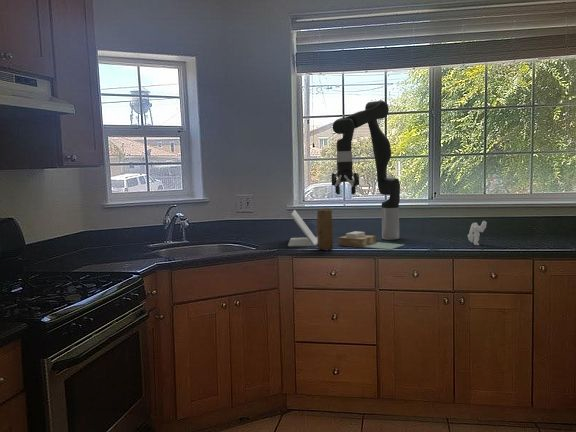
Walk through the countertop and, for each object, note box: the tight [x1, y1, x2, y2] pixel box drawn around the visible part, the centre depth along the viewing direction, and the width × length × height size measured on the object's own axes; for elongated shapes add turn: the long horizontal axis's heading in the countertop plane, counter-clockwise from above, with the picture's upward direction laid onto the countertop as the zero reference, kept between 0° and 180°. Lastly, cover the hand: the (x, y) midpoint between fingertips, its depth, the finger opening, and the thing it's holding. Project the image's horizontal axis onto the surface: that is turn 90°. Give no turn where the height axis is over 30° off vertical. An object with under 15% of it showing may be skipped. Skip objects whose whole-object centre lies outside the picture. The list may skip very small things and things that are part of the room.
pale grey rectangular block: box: [345, 231, 366, 238], centre depth 271 cm, size 9×6×2 cm, turn 141°
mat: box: [362, 241, 405, 251], centre depth 263 cm, size 15×16×1 cm
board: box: [337, 234, 377, 248], centre depth 271 cm, size 14×14×4 cm
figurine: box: [467, 220, 488, 246], centre depth 260 cm, size 10×5×12 cm, turn 33°
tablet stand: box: [287, 209, 318, 247], centre depth 283 cm, size 18×25×17 cm
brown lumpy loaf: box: [316, 208, 334, 251], centre depth 260 cm, size 11×8×20 cm
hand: (345, 194), depth 253 cm, fingers open, 8 cm apart
